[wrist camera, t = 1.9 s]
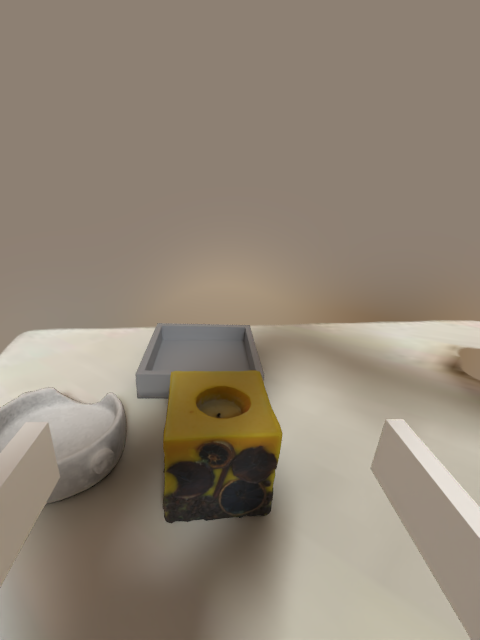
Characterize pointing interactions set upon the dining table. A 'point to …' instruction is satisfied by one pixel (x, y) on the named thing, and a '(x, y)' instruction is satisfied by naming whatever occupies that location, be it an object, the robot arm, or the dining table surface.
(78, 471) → the dish
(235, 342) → the tray
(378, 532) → the dining table surface
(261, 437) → the candle
